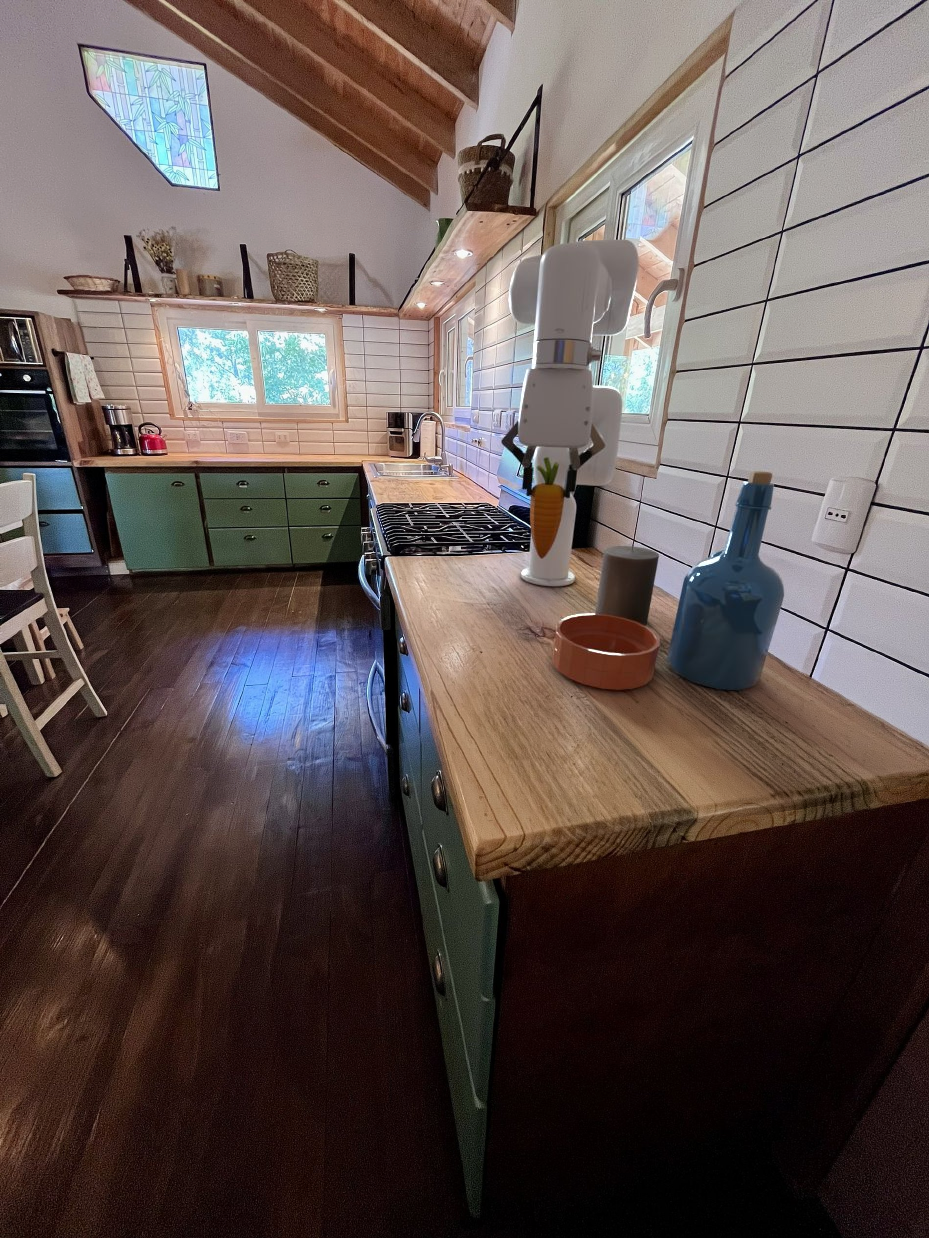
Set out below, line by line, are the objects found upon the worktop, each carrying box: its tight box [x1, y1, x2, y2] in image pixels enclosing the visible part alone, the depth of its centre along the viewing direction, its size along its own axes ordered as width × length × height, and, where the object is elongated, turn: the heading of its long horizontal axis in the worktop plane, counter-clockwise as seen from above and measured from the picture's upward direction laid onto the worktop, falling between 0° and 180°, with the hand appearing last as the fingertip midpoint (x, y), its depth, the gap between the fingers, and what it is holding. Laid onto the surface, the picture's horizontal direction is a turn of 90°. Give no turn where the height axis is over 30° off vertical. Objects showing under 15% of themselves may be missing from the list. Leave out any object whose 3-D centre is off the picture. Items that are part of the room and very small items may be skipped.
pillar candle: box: [594, 544, 660, 627], centre depth 92 cm, size 10×10×15 cm
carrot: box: [529, 457, 565, 559], centre depth 75 cm, size 5×5×15 cm
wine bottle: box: [667, 470, 785, 691], centre depth 72 cm, size 14×13×30 cm
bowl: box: [551, 613, 661, 691], centre depth 76 cm, size 15×15×6 cm
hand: (547, 494), depth 74 cm, fingers closed on carrot, 5 cm apart
